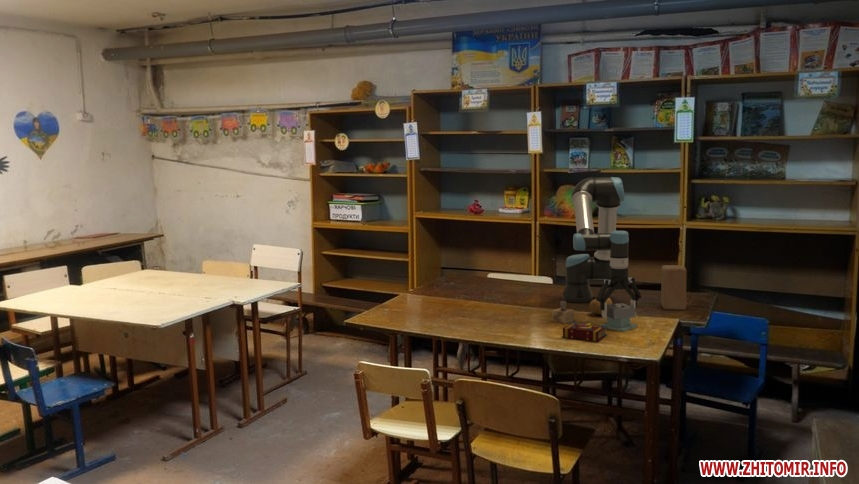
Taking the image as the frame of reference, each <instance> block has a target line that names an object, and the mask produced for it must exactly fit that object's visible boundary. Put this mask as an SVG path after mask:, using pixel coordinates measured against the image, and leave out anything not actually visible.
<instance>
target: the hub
mask: <svg viewBox="0 0 859 484" xmlns="http://www.w3.org/2000/svg"><path fill="white" fill-rule="evenodd" d="M615 304H616V308H622V304H620V303H615ZM601 325H605V326H607V328H606V330H612V331H618V332H622V333H623V332H626V331H629V330H631V329H634V328H637V327H638V326H637V323H631V318H622V319H612V318H610V317H608V316H607V318H606V322H605V323H603V324H601Z"/></svg>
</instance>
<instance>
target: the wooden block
mask: <svg viewBox="0 0 859 484" xmlns="http://www.w3.org/2000/svg"><path fill="white" fill-rule="evenodd" d="M660 278H661V285H660V286H661V287H660V290H661V292H660V297H661V298H660V304H661V307H662V308H663V310H671V311H684V310H686V308H687V305H686V304H687V268H686V267H685V266H684V265H682V264H680V265H679V264H678V265H674V264H673V265H668V264H667V265H666V264H665V265H664V264H663V265H662V266H661V277H660Z"/></svg>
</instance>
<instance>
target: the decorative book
mask: <svg viewBox="0 0 859 484" xmlns="http://www.w3.org/2000/svg"><path fill="white" fill-rule="evenodd" d="M606 328H607V326H605V325H602V324H593V323H582V322H577V321H572V322H569V324H566V326H564V327H563V328H562V338H567V339H570V340H575V339H576V340H583V341H585V342H596V343H597V342H599V341H601V340H603V339H604V338H606V337H607V336H608V333H607V332H606V330H607V329H606Z"/></svg>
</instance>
